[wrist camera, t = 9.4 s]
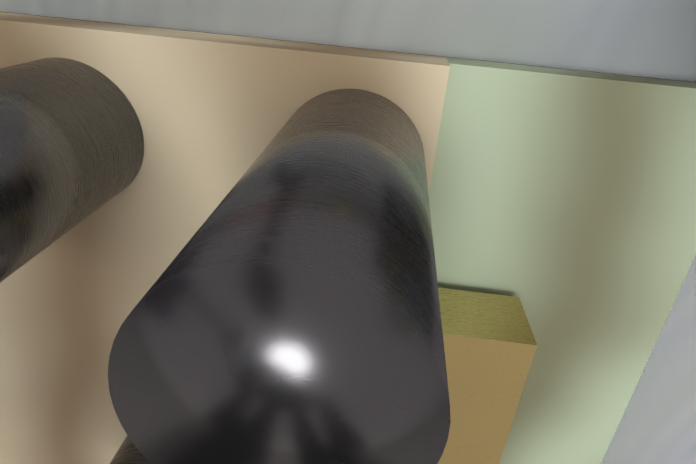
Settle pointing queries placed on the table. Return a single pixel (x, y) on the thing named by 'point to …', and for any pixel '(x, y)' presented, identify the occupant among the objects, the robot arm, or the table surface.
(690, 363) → the table surface
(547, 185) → the board
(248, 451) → the spacers
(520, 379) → the tan wooden tile
